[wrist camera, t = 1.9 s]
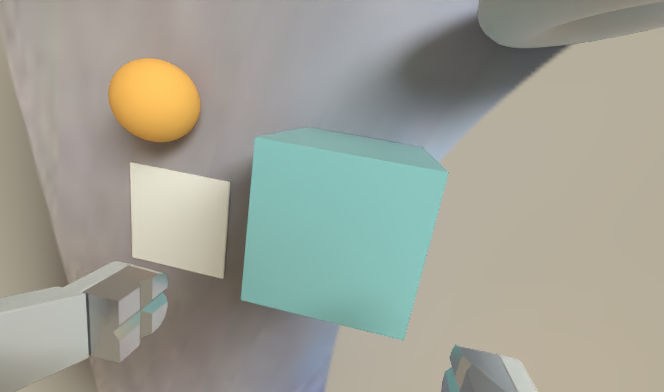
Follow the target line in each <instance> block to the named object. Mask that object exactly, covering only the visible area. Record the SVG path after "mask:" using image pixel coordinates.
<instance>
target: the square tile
mask: <svg viewBox="0 0 664 392" xmlns="http://www.w3.org/2000/svg"><path fill="white" fill-rule="evenodd" d="M130 178H131V220H132V257H134V258H138V259H143V260H147V261H151V262H155V263H159V264H163V265H167V266H172V267H176V268H180V269H184V270H188V271H192V272H196V273H200V274H205V275H209V276H213V277H217V278H221V279H223V278H224V270H225V255H226V240H227V226H228V211H229V197H230V182H228V181H223V180H218V179H213V178H208V177H203V176H199V175H194V174H189V173H184V172H179V171H174V170H169V169H164V168H159V167H154V166H149V165H144V164H139V163H134V162H130Z"/></svg>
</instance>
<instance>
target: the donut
mask: <svg viewBox="0 0 664 392" xmlns="http://www.w3.org/2000/svg"><path fill="white" fill-rule="evenodd" d="M477 13H478V20H479V25H480V26H481V28H482V30H483V32H484V33H485V34H486V35H487V36H488V37H490V38H491V39H492V40H493V41H495V42H496V43H497V44H500V45H503V46H507V47H513V48H540V47H551V46H561V45H570V44H577V43H584V42H590V41H596V40H602V39H607V38H613V37H619V36H624V35H629V34H633V33H638V32H643V31H648V30H652V29H656V28H660V27H664V0H479V6H478V12H477Z"/></svg>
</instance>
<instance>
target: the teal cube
mask: <svg viewBox="0 0 664 392" xmlns="http://www.w3.org/2000/svg"><path fill="white" fill-rule="evenodd" d="M448 174H449V172H447V170H446V169H445V168H444V167H443V166H442V165H441V164H440V163H438V162H437V161H436V160H435V159H434V158H433V157H432V156H431V155H430V154H429V153H428V152H427V151H426V150H425V149H424V148H423V147H418V146H412V145H407V144H401V143H395V142H390V141H384V140H378V139H373V138H367V137H361V136H355V135H350V134H344V133H338V132H333V131H327V130H321V129H316V128H310V127H305V128H300V129H295V130H289V131H284V132H279V133H274V134H269V135H264V136H258V137H255V143H254V154H253V165H252V177H251V188H250V200H249V211H248V223H247V234H246V245H245V257H244V268H243V280H242V291H241V300H243V301H247V302H251V303H255V304H259V305H263V306H267V307H271V308H275V309H279V310H283V311H287V312H291V313H295V314H299V315H303V316H307V317H311V318H315V319H319V320H323V321H327V322H331V323H335V324H339V325H343V326H347V327H351V328H355V329H359V330H363V331H367V332H371V333H376V334H380V335H384V336H388V337H392V338H396V339H400V340H404V338H405V334H406V330H407V326H408V323H409V319H410V315H411V312H412V307H413V304H414V300H415V297H416V293H417V289H418V285H419V281H420V278H421V274H422V271H423V267H424V263H425V259H426V256H427V252H428V248H429V245H430V241H431V237H432V233H433V230H434V226H435V222H436V218H437V215H438V211H439V207H440V203H441V200H442V196H443V192H444V188H445V185H446V181H447V177H448Z"/></svg>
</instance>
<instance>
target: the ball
mask: <svg viewBox="0 0 664 392" xmlns="http://www.w3.org/2000/svg"><path fill="white" fill-rule="evenodd" d="M108 97H109V103H110V107H111V110H112V112H113V114H114V116H115V117H116V119H117V120H118V122H119V123H120V124H121V125H122V126H123V127H124V128H125V129H126V130H128V131H129V132H130V133H132V134H134V135H135V136H137V137H139V138H142V139H145V140H148V141H153V142H169V141H173V140H176V139H179V138H181V137H183V136H185V135H186V134H187V133H188V132H190V131H191V129H192V128H193V127H194V126H195V124H196V122H197V120H198V118H199V114H200V98H199V94H198V91H197V89H196V87H195V85H194V84H193V82H192V80H191V79H190V78H189V77H188V76H187V75H186V74H185V73H184V72H183V71H182V70H181V69H179V68H178V67H176V66H174V65H173V64H171V63H168V62H166V61H163V60H159V59H151V58H146V59H138V60H134V61H131V62H129V63H127V64H125V65H124V66H122V67H121V68H120V69H119V70H118V71H117V72H116V73H115V75H114V76H113V78H112V80H111V82H110V86H109V92H108Z"/></svg>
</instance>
